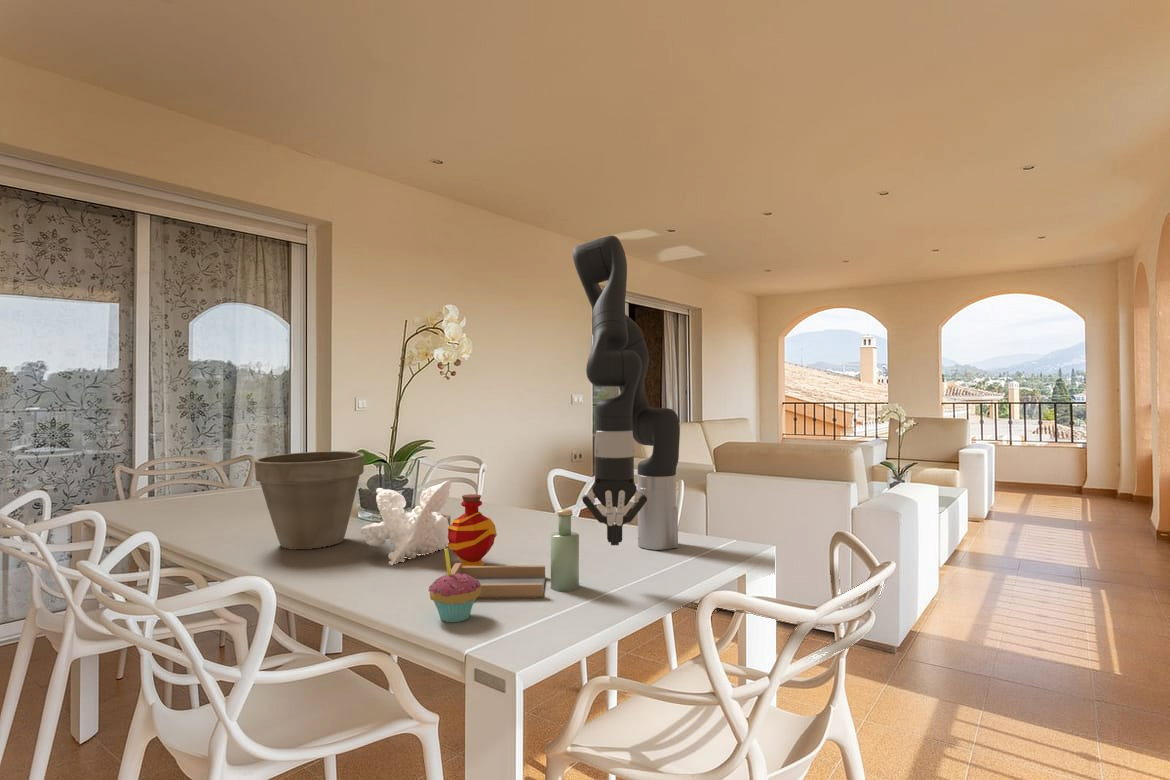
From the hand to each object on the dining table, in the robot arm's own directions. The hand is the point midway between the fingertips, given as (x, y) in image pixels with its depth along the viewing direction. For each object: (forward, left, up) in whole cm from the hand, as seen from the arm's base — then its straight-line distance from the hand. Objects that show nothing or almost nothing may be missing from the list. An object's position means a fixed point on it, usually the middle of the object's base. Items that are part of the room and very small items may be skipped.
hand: (614, 544), depth 124 cm
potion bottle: (+29, -16, -8) cm, 35 cm away
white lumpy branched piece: (+45, -26, -8) cm, 53 cm away
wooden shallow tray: (+22, 0, -8) cm, 24 cm away
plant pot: (+72, -38, -8) cm, 82 cm away
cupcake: (+27, +16, -8) cm, 33 cm away
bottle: (+9, 0, -8) cm, 12 cm away
